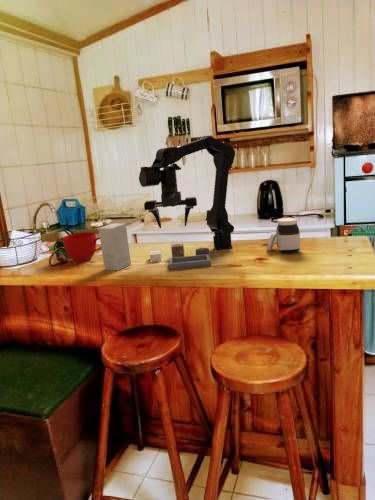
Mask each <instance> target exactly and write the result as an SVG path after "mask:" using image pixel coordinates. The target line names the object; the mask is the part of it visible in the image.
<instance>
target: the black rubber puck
mask: <svg viewBox="0 0 375 500" xmlns="http://www.w3.org/2000/svg"><path fill="white" fill-rule="evenodd" d="M204 254H209V257H210V248H208V247H200V248H199V247H198V248H196V249H195V255H204ZM210 258H211V257H210Z"/></svg>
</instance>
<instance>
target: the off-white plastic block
mask: <svg viewBox="0 0 375 500" xmlns="http://www.w3.org/2000/svg"><path fill="white" fill-rule="evenodd" d="M161 258H162V250H150V252H149V261H150V262H151V261H157V262H162V259H161Z"/></svg>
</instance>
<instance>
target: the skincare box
mask: <svg viewBox="0 0 375 500" xmlns="http://www.w3.org/2000/svg"><path fill="white" fill-rule="evenodd" d="M98 234H99V237H100V239H99V241H100V247H101V248H102V249H101V254H102V259H103V267H104V270H105V271H106V270H107V271H115V270H118V271H120V270H122V269H125V268H127V267H129V266H130V264H131V265H132V260H131V254H130V246H129V237H128V231H127V223H125V222H122V223H121V222H120V223H119V222H117V223H115V222H114V223H110V224H107V225H104V226H101V227H98Z"/></svg>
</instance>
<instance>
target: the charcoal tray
mask: <svg viewBox="0 0 375 500" xmlns="http://www.w3.org/2000/svg"><path fill="white" fill-rule="evenodd" d="M209 256H210V253H209V254H204V255H196V254H195V255H187V256H186V255H184V257H174V258H172V257H169V259H168V261H169V263H168V265H169V271H175V270H185V269H196V268H204V267H212V263H211V261H212V260H211V257H209Z"/></svg>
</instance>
